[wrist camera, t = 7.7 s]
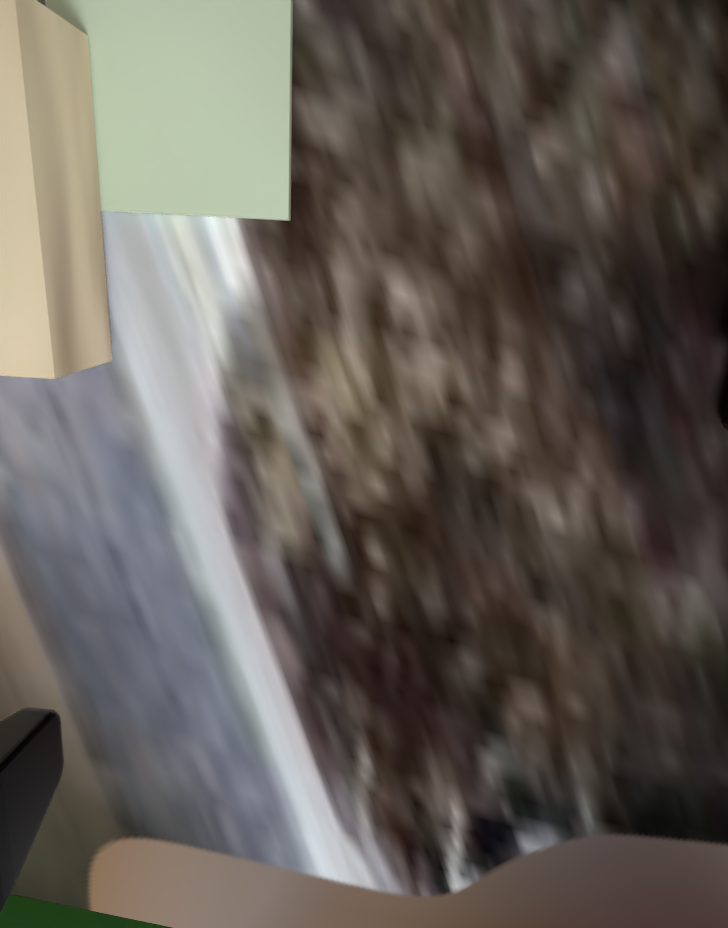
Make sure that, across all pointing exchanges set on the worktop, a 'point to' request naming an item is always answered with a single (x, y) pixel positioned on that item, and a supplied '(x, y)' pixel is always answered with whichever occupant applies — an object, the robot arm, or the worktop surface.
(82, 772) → the worktop surface
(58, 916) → the hardback book
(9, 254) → the beech block
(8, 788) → the robot arm
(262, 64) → the sage swatch
